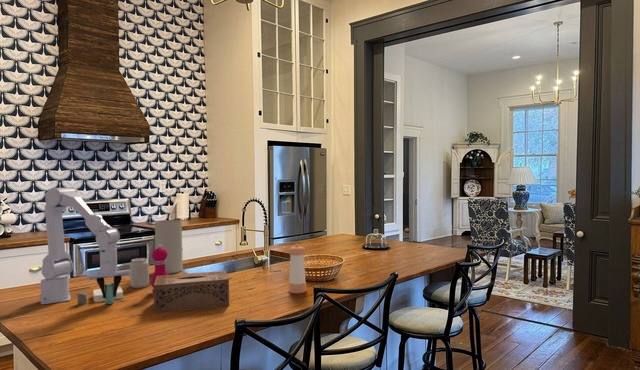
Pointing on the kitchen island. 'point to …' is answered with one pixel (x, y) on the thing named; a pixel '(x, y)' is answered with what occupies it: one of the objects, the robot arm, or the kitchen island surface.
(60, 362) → the kitchen island surface
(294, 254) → the pepper shaker
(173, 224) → the cylinder vase
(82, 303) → the short dowel
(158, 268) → the pepper mill
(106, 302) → the long dowel
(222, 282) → the tissue box cover
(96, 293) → the hole block
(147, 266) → the can
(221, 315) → the kitchen island surface
